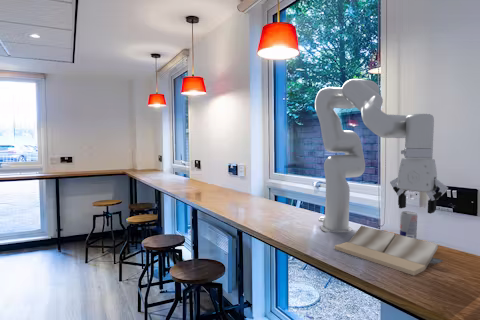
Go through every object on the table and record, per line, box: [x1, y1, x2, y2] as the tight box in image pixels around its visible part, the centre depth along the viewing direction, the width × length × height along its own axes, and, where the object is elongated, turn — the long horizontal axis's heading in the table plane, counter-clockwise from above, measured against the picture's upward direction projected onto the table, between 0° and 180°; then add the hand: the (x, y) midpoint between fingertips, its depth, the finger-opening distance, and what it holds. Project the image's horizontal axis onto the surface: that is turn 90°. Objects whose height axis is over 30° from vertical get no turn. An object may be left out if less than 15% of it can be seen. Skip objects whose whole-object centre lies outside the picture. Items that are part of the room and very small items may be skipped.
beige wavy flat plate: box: [348, 225, 397, 253], centre depth 110 cm, size 12×9×1 cm
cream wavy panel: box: [384, 234, 439, 269], centre depth 99 cm, size 12×9×1 cm
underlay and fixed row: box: [334, 241, 444, 278], centre depth 103 cm, size 26×21×2 cm
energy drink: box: [399, 210, 418, 239], centre depth 115 cm, size 5×5×12 cm
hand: (416, 210), depth 100 cm, fingers open, 8 cm apart
